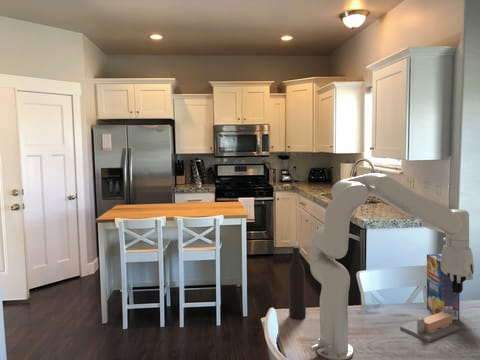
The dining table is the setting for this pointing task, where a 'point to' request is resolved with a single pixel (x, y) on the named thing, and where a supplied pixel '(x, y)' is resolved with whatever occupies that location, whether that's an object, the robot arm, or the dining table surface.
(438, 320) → the swing bar
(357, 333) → the dining table surface
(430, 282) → the juice carton
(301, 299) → the wine bottle
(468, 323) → the dining table surface
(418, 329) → the label board
